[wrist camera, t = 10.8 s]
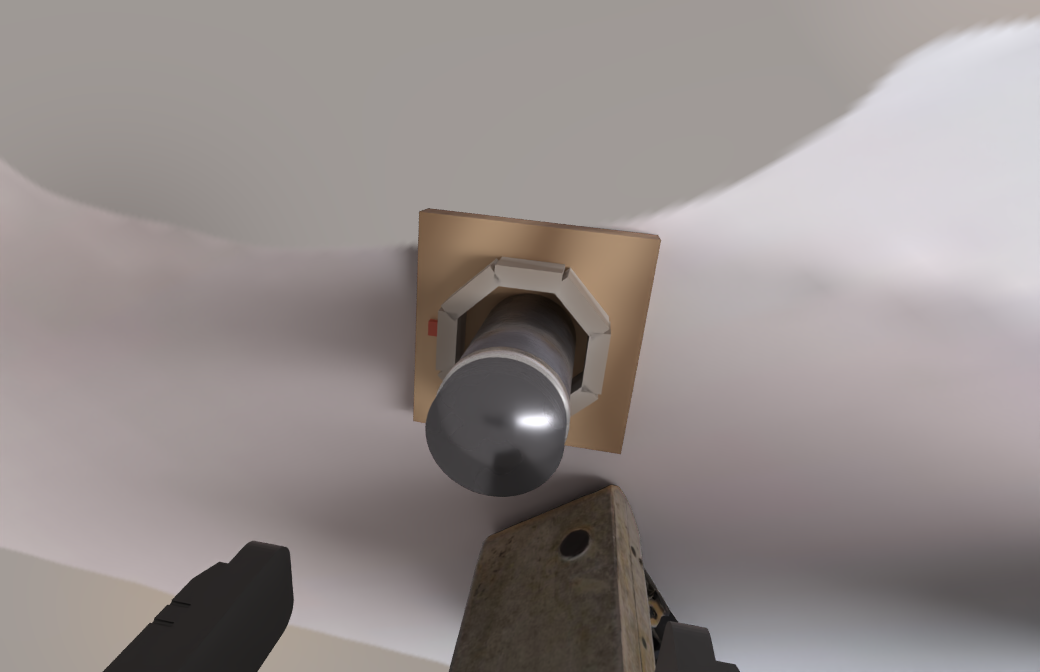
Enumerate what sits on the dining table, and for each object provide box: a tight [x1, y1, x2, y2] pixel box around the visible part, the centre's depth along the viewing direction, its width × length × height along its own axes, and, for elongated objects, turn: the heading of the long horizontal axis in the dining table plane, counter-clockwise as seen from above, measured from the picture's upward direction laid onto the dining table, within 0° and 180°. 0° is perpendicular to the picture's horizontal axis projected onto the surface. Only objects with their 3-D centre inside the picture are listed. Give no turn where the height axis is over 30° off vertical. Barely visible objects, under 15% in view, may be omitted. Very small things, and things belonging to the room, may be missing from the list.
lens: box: [425, 293, 576, 497], centre depth 23 cm, size 5×5×10 cm
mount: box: [413, 208, 661, 454], centre depth 28 cm, size 12×12×4 cm
